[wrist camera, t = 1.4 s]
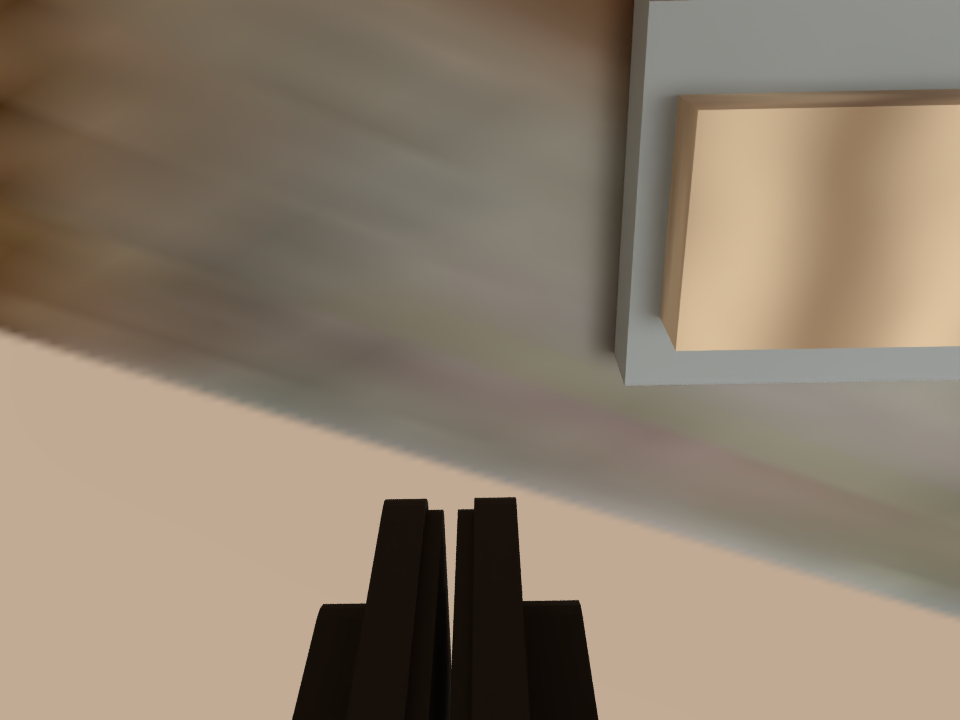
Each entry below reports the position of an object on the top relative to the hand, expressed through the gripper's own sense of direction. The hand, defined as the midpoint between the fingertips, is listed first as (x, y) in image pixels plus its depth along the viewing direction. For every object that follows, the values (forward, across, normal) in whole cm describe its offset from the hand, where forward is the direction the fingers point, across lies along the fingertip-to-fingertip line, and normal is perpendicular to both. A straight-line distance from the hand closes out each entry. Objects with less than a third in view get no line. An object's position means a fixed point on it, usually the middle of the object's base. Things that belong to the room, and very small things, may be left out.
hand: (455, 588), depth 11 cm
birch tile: (+16, -11, 0) cm, 20 cm away
